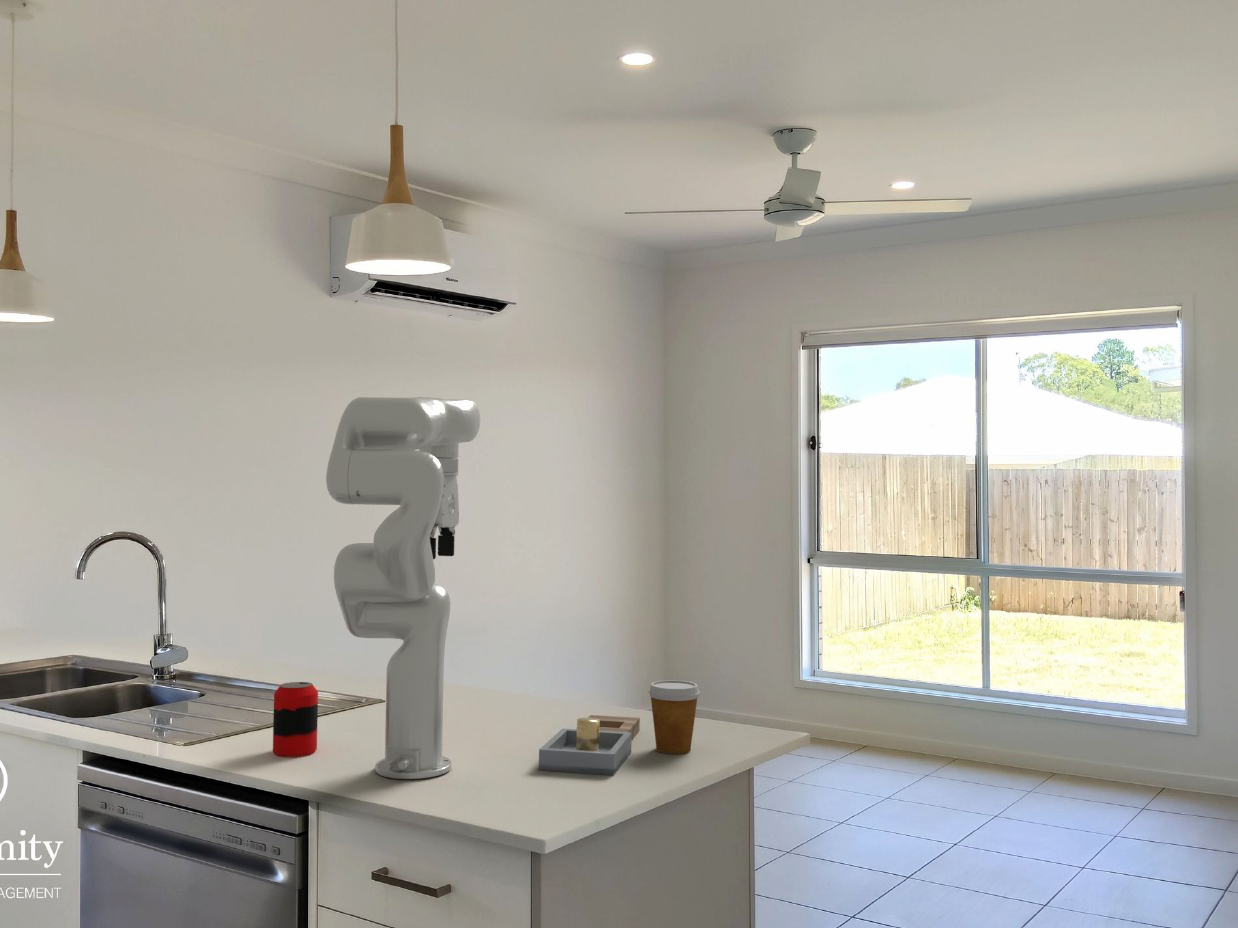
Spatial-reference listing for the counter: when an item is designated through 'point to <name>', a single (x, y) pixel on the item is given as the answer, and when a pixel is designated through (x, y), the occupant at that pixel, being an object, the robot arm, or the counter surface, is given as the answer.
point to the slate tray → (585, 753)
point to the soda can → (295, 719)
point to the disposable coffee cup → (673, 714)
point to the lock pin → (588, 734)
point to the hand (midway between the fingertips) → (436, 557)
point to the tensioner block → (618, 724)
